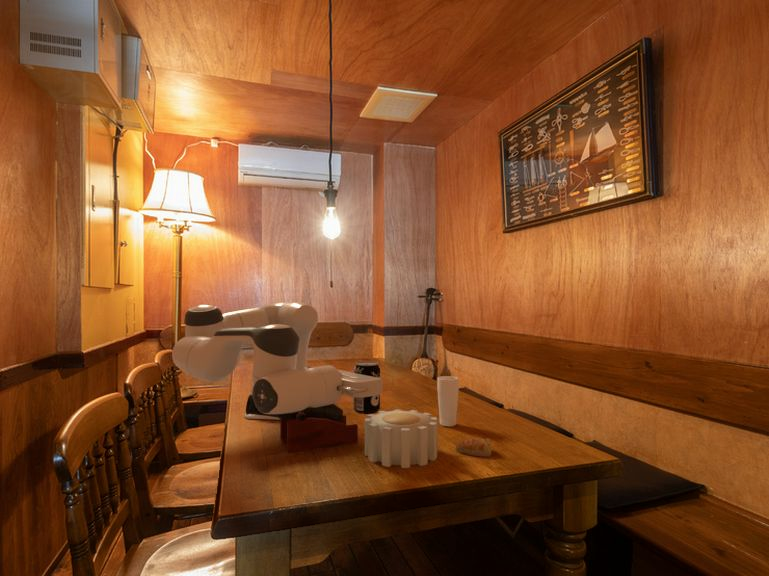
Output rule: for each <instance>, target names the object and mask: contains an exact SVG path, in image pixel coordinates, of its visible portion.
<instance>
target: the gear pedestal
mask: <svg viewBox="0 0 769 576" xmlns="http://www.w3.org/2000/svg"><path fill="white" fill-rule="evenodd" d="M438 429H439V427H438V418H437V416H432V413H429V412H423V413H421V412H419V411H418V410H413V409H411V410H408V411H407V410H406V411H405V410H401V409H393V410H391V411H389V410H388V411H386V410H378V412H377V414H376V413H374V414H366V418H364V456H365V457H366V456H367V457H368V459H367V460H368V461H369V462H371V463H377V462H378V463H381V466H382V467H387V468H390V467H391V466H400V467H401V469H407V468H409V469H410V468H411V466H414V465H418V466H420V467H423V466H426V465H428V461H434V462H435V461H436V460H437V458H438V450H439V449H438V444H439V443H438V438H439V436H438V431H439V430H438Z"/></svg>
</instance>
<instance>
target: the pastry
mask: <svg viewBox="0 0 769 576" xmlns="http://www.w3.org/2000/svg"><path fill="white" fill-rule="evenodd" d="M455 450H456V451H457V452H459V453H460V454H465V455H469V456H477V457H491V455H492V446H491V439H490V438H487V437H486V439H485V438H482V437H481V438H480V437H474V438H469V439H464V440H461V441H458V442H457V443H456V444H455Z"/></svg>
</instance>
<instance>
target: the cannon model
mask: <svg viewBox="0 0 769 576" xmlns="http://www.w3.org/2000/svg"><path fill="white" fill-rule="evenodd" d="M245 412H246V414H247V415H248V414H251V415H253V414H256V415H264V416H271V417H278V418H279V419H280V420H279V424H280V427H279V428H280V433H279V435H280V436H279V437H280V438H279V440H280V443H281V444H282V446H283V448H284V449H285V451H286V452H287V454H292V453H298V452H306V451H307V452H308V451H313V450H318V449H326V448H333V447H340V446H341V445H342V446H346V445H347V446H348V444H349V445H353V444H354V443H356V444H358V441H359V440H358V436H359V435H358V434H359V433H358V431H359V429H358V424H356V423H354V424H353V423H352V424H347V415H345V414H344V410H343V409H342V408H340V407H339V406H337V405H336V403H335V404H330V405H326V406H321V407H316V408H313V407H308V408H306V409H304V410H302V411H298V412H292V413H286V414H264V413H262V412H260V411H259V410H258V409H257V407H256V406H255V404H254V401H253V396H252V394H250V395H248V397H247V401H246V405H245ZM354 445H355V444H354Z"/></svg>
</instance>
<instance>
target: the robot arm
mask: <svg viewBox="0 0 769 576" xmlns="http://www.w3.org/2000/svg"><path fill="white" fill-rule="evenodd" d="M318 322H319V315H318V312H317V310H316V308H315V307H314V306H312V305H310V304H308V303H306V302H302V301H278V302H275V303H274V302H273V303H270V304H265V305H261V306H257V307H251V308H246V309H239V310H234V311H233V310H232V311H230V312H229V311H228V312H226V313H223V312H222V310H221V309H220V308H218V306H216V305H210V304H199V305H196V306H194V307H191V308H189V309H188V310H187V311H186V312H185V315H184V321H183V323H184V325H185V328H184V330H185V331H184V334H185V335H184V337H181V338H180V339H179V340H178V341H177V342H176V343H175V344H174V346H173V347H172V348H173V349H172V351H171V358H172V362H173V363H174V365H175V366H176V367H177V368H179V370H181V371H182V372H184V373H185V374H187V375H189V376H190V377H192V378H194V379H197V380H200V381H203V382H207V383H216V382H220V381H222V380H225V379H226V378H227V377H229V376H230V375H231V374H232V373H233V372H234V371H235V369H236V368H237V366H238V363H239V359H240V356H241V352H242V350H243V347H244V345H245V344H246V345H250V344H251V345H252V348H253V349H252V350H253V358H252V362H253V363H252V372H251V386H250V387H251V389H250V390H251V395H252V396H253V401H254V404H255V406H256V407H257V409H258V410H259V411H260V412H262V413H264V414H286V413H292V412H298V411H302V410H304V409H306V408H308V407H313V408H316V407H321V406H326V405H330V404H335V405H336V404H337V403H338V402H339V401H340V399H341V397H342V396H348V397H352V398H354V397H356V398H362V397H370V396H376V395H380V396H381V394H382V393H383V388H384V387H383V384H384V382H383V381H384V378H383V377H382V376H381V375H380V376H375V377H372V376H367V375H362V374H357V373H354V371H353V372H350V371H347V370H346V371H345V370H343V369H342V370H341V369H337V368H336V367H335V366H333V365H330V364H329V365H319V366H308V350H309V349H308V347H309V343H310V340H311V335H312V333H313V331H314V329H315V328H316V327H317V325H318ZM244 418H246V419H253V420H255V419H256V420H257V419H258V420H277V421H278V420H279V421H280V419H279V418H278V417H271V416H264V415H256V414H253V415H251V414H248V415H247V414H246V411H245V412H244Z"/></svg>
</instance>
